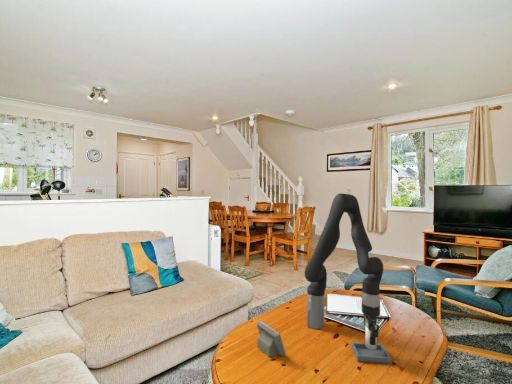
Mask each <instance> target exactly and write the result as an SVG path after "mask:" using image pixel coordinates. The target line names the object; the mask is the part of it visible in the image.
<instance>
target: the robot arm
mask: <svg viewBox="0 0 512 384" xmlns="http://www.w3.org/2000/svg"><path fill="white" fill-rule="evenodd" d="M344 213H347V216H348V217H349V220H350V224H351V227H350V229H351V230H350V235H351V240H352V243H353V245H354V247H355V248H354V249H355V251H356V259H357V260H356V261H357V266H358V268H359V271H360V272H361V273H362V274H364V275H367V277H364V278H363V279H362V284H361V285H362V294H361V313H362V314H363V325H364V327H365V326H366V322H367V323H368V330H369V331H370V344H371V345H376V337H377V338H378V337H379V331H380V325H379V324H378V322H377V321H378V319H377V317H379V316H381V294H380V292H381V291H380V289H381V288H380V284H381V281H382V277H383V274H384V264H383V262H382V260H381V258H379V257H377V256H372V257H370V256H369V253H371V251H372V250H373V246H372V243H371V240H370V238H369V236H368V234H367V232H366V229H365V225H364V221H363V218H362V214H361V208H360V204H359V202H358V198H357V197H356V196H355V195H354V194H349V193H341V192H340V193H338V194H336V195H335V196H334V198H333V200H332V203H331V206H330V209H329V214H328V216H327V219H326V222H325V225H324V227H323V229H322V231H321V233H320V236H319V238H318V242H317V243H316V246H315V248H314V251H313V254H312V255H311V257H310V259H309V261H308V263H307V264H306V267H305V269H304V277H305V279H306V281H307V282H310V283H309V285H308V286H307V289H306V290H307V294H306V296H307V297H306V299H307V301H306V326H307V328H311V329H315V330H316V329H317V330H319V329H320V330H321V329H323V328H324V327H325V295H326V294H325V291H326V288H327V281H328V280H327V279H328V276H327V275H328V272H327V269H326V267H325V265H324V263H325V262H326V260H327V259H328V258H329V257H330V256H331V255H332V253H333V252H334V251H335V249H336V247H337V246H338V243H339V240H340V237H341V231H340V228H341V227H340V223H341V219H342V217H343V215H344ZM370 327H372V328H370Z"/></svg>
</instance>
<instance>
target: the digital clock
mask: <svg viewBox="0 0 512 384" xmlns="http://www.w3.org/2000/svg"><path fill="white" fill-rule="evenodd" d="M256 326H257V330H258V333H259V336H258V337H257V348H258V349H259V350H260V351H261V352H262V353H264V354H265V355H267V357H268V358H271V357H274V356H275V355H279V356H281V357H284V356H286V348H285V346H284V343H283V339H282V337H281V333H279V332H278V331H276V330H275V329H273V328H272V327H270V326H269V325H268V324H266V323H265V322H263V321H262V320H258V321H257V322H256Z"/></svg>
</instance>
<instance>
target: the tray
mask: <svg viewBox="0 0 512 384" xmlns="http://www.w3.org/2000/svg"><path fill="white" fill-rule="evenodd" d="M350 346H351V350H352V352H353V354H354V357H355V358H356V361H357V362H358V363H372V364H383V365H384V364H385V365H392V358H391V356H390V355H389V353H388V351H387V349H385V347H384V345H383V344H381V343H377V348H376V349H375V350H372V349H368V348H367V347H366V346H365V343H364V342H352V341H351V345H350Z"/></svg>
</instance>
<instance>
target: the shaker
mask: <svg viewBox="0 0 512 384" xmlns="http://www.w3.org/2000/svg"><path fill="white" fill-rule="evenodd" d="M364 328H365V329H364V331H365V339H364V342H365V346H366V347H367V348H368V349H372V350H375V349H376V348H377V344H378V342H377V341H378V340H377V339H378V337H376V345H371V344H370V331H369V330H368V323H367V322H366V326H364ZM370 328H372V327H370Z"/></svg>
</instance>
